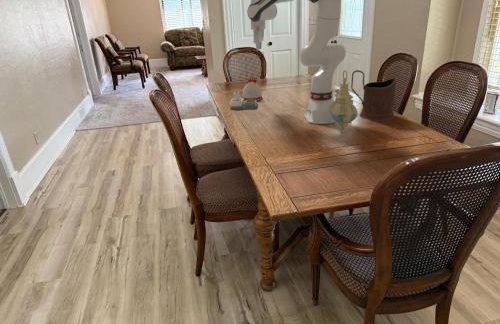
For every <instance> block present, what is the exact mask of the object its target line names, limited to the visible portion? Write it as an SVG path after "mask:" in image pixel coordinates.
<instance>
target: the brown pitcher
mask: <svg viewBox="0 0 500 324" xmlns="http://www.w3.org/2000/svg"><path fill="white" fill-rule="evenodd" d="M355 73H361V74H362V86H363V87H362V88H363V89H362V90H363V98H362V97H361V96H360V95H359V94H358V93H357V91H356V90H354V88H353V83H354V74H355ZM396 86H397V78H390V79H388V80H384V81H373V82H372V81H371V82H368V83H365V73H364V72H363V71H362V70H357V69H356V70H354V71H352V74H351V85H350V87H351V91H352V92H353V93H354V94H355V95H356V97H358V99H359V100H361V105H362V109H361V111H360V113H359V114H358V115H359V117H360V118H362V119H364V120H369V121H377V122H380V121H381V122H383V121H385V122H386V121H390V120H393V119H394V118H395V115H394V111H393V109H394V101H395V96H396V95H395V93H396Z"/></svg>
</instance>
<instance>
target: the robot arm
mask: <svg viewBox="0 0 500 324" xmlns="http://www.w3.org/2000/svg"><path fill="white" fill-rule="evenodd" d="M293 1H294V0H250V4H249V5H248V7H247V11H246V13H247V16H248V18H249V20H250V30H252V33H253V44H255V48H256V51H260V50H261V49H262V42H263V41H264V36H265V35H264V34H265V29H266V21H271V20H274V19H275V18H276V17H277V16H278V15H277V14H278V8H277V5H276V4H280V3H288V2H293ZM308 1H309V2H311V3H313V4H316V3H317V5H318V11H317V16H316V17H317V18H316V23H315V27H314V28H315V29H314V32H313V35H312V37H311V39H310V40H309V42H308V43H307V44H306V45H305V46H304V47H302V49H301V50H300V53H299V60H300V63H301V64H302V66H305V67H311V68H312V67H313V68H314V67H319V68H318V71H316V72H315V73H314V74H313V75H312V77H311V90H310V93H309V97H310V99H308V100H307V105H306V106H307V109H306V113H303V116H304V118H305V119H306V122H307V123H309V124H313V125H314V124H315V125H316V124H317V125H318V124H320V125H325V124H327V125H328V124H335V122H334V121H333V118H332V116H331V114H330V112H329V108H330V106H331V104H332V103H333V102H335V99H333V90H332V88H333V79H334V75H335V71H336V70H337V68H338V67H339V65H340V64H341V63H342V62H343V61H344V60H345V57H346V48H345V47H344V45H343V44H341V43H335V42H332V43H329V41H330V40H331V39H333V38H334V37H336V36H337V33H338V31H339V25H340V24H339V23H340V18H341V13H342V12H341V11H342V0H308Z"/></svg>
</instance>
